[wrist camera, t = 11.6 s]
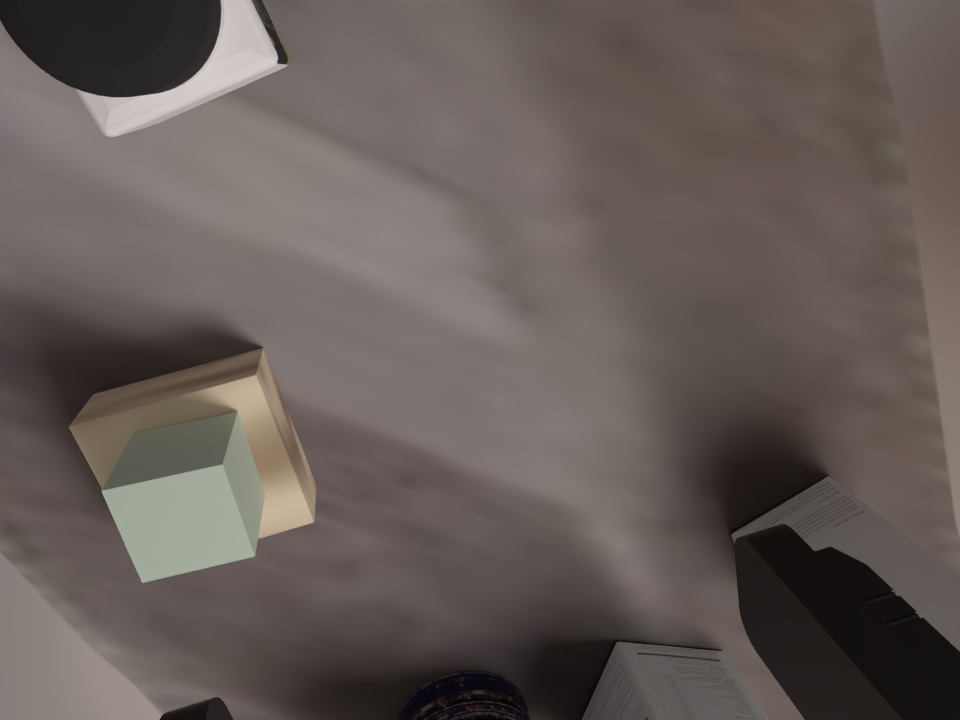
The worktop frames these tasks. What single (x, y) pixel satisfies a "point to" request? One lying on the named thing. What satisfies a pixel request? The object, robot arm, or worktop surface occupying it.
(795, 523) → the skincare box
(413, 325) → the worktop surface
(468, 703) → the storage jar
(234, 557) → the sage cube
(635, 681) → the supplement box
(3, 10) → the medicine bottle
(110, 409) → the maple box
